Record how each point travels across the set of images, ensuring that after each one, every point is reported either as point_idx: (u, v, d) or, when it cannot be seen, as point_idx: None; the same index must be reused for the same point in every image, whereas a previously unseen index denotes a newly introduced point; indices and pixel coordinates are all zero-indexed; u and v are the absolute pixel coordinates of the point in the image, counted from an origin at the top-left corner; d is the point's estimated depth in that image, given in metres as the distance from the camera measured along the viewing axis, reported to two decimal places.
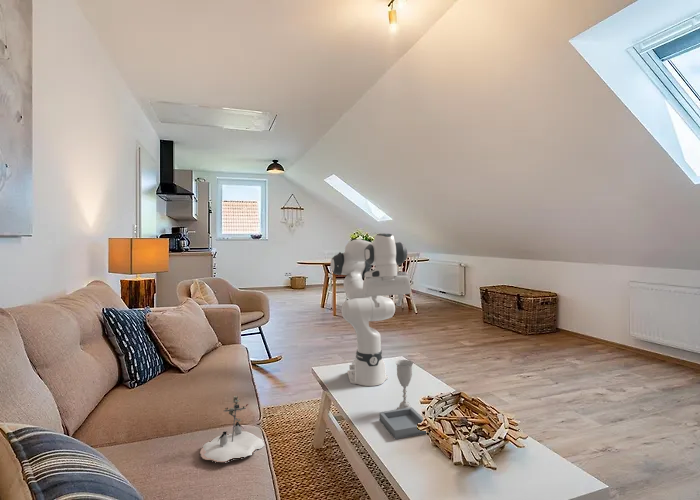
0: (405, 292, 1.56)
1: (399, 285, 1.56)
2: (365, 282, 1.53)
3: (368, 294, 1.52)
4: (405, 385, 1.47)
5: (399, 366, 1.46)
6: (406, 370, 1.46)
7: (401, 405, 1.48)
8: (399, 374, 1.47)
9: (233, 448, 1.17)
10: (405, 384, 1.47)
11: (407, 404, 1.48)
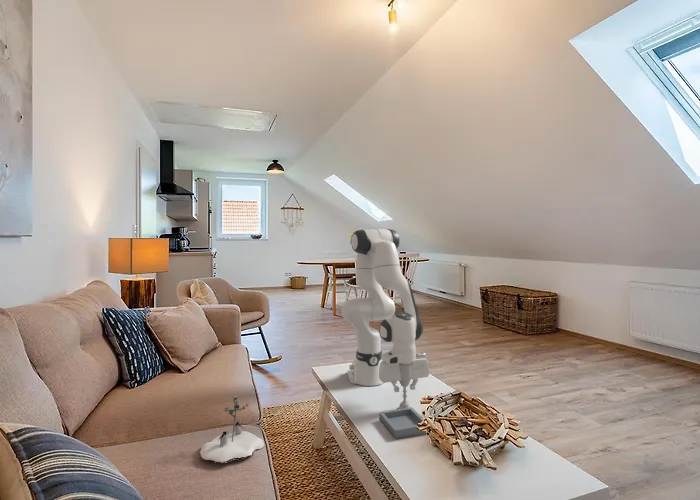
0: (423, 376, 1.49)
1: (417, 369, 1.49)
2: (382, 367, 1.45)
3: (385, 381, 1.45)
4: (405, 385, 1.47)
5: None
6: (406, 370, 1.46)
7: (401, 405, 1.48)
8: None
9: (233, 448, 1.17)
10: (405, 384, 1.47)
11: (407, 404, 1.48)
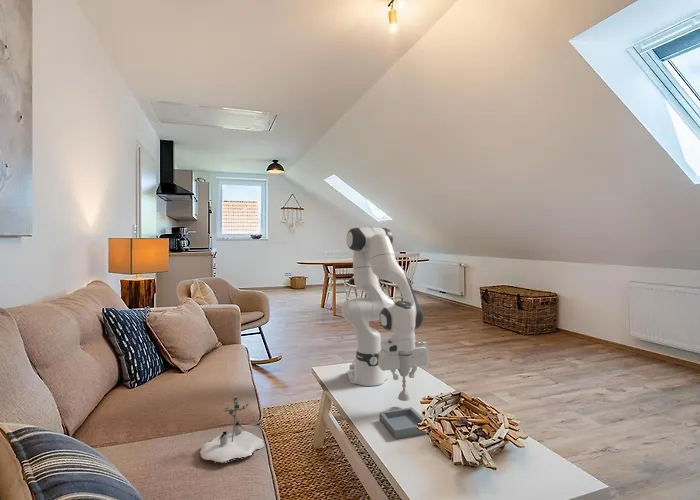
0: (422, 364, 1.50)
1: (416, 357, 1.49)
2: (381, 355, 1.46)
3: (384, 368, 1.45)
4: (404, 375, 1.48)
5: (398, 356, 1.47)
6: (406, 360, 1.46)
7: (401, 395, 1.49)
8: None
9: (233, 448, 1.17)
10: (404, 374, 1.48)
11: (407, 394, 1.49)
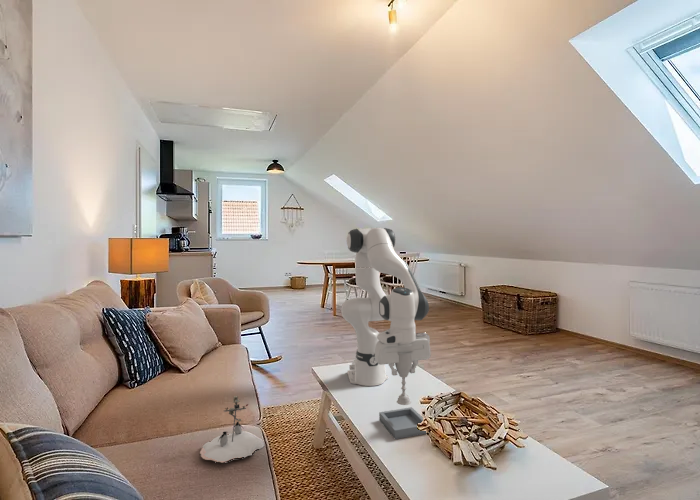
0: (424, 358, 1.35)
1: (417, 350, 1.34)
2: (378, 348, 1.31)
3: (381, 362, 1.30)
4: (404, 376, 1.33)
5: (398, 354, 1.32)
6: (406, 358, 1.31)
7: (400, 398, 1.33)
8: (397, 363, 1.32)
9: (234, 448, 1.17)
10: (404, 374, 1.32)
11: (407, 397, 1.33)
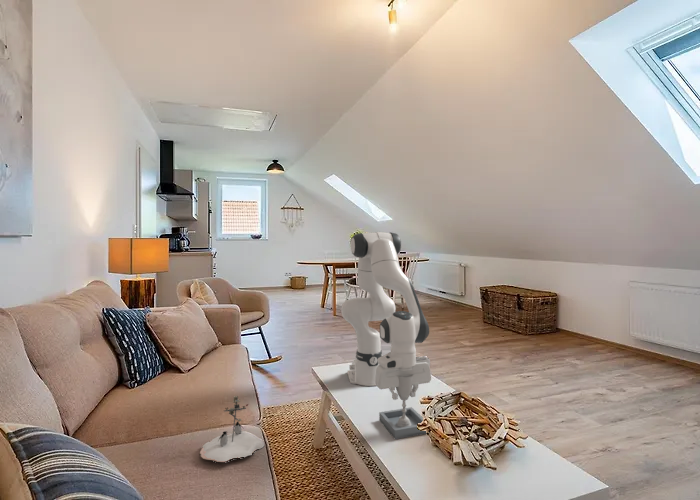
0: (424, 381, 1.35)
1: (418, 374, 1.34)
2: (378, 372, 1.31)
3: (382, 387, 1.30)
4: (405, 398, 1.33)
5: (398, 377, 1.32)
6: (407, 382, 1.31)
7: (400, 421, 1.33)
8: None
9: (234, 448, 1.17)
10: (405, 397, 1.32)
11: (407, 419, 1.33)
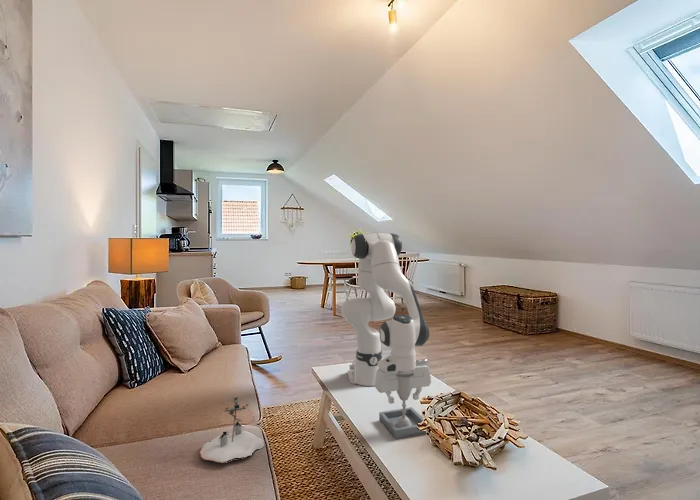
0: (424, 385, 1.35)
1: (417, 377, 1.34)
2: (378, 376, 1.31)
3: (382, 390, 1.30)
4: (405, 399, 1.32)
5: (398, 378, 1.31)
6: (406, 382, 1.31)
7: (400, 421, 1.33)
8: (398, 386, 1.32)
9: (234, 448, 1.17)
10: (405, 397, 1.32)
11: (407, 420, 1.33)
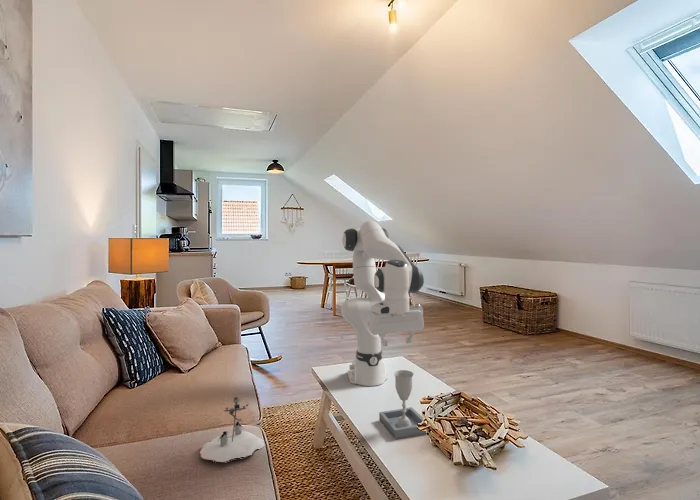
0: (417, 329, 1.37)
1: (411, 321, 1.36)
2: (372, 318, 1.33)
3: (375, 332, 1.32)
4: (405, 399, 1.32)
5: (398, 378, 1.31)
6: (406, 382, 1.31)
7: (400, 421, 1.33)
8: (398, 386, 1.32)
9: (234, 448, 1.17)
10: (405, 397, 1.32)
11: (407, 420, 1.33)
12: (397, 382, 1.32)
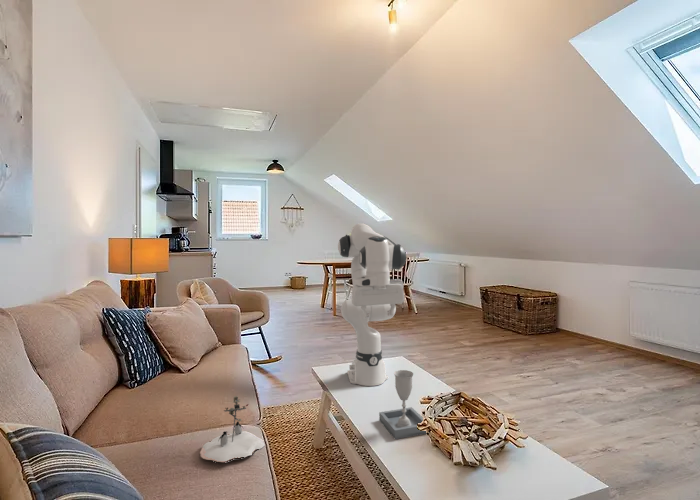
0: (397, 301, 1.44)
1: (391, 294, 1.44)
2: (354, 291, 1.40)
3: (357, 304, 1.39)
4: (405, 399, 1.32)
5: (398, 378, 1.31)
6: (406, 382, 1.31)
7: (400, 421, 1.33)
8: (398, 386, 1.32)
9: (234, 448, 1.17)
10: (405, 397, 1.32)
11: (407, 420, 1.33)
12: (397, 382, 1.32)
